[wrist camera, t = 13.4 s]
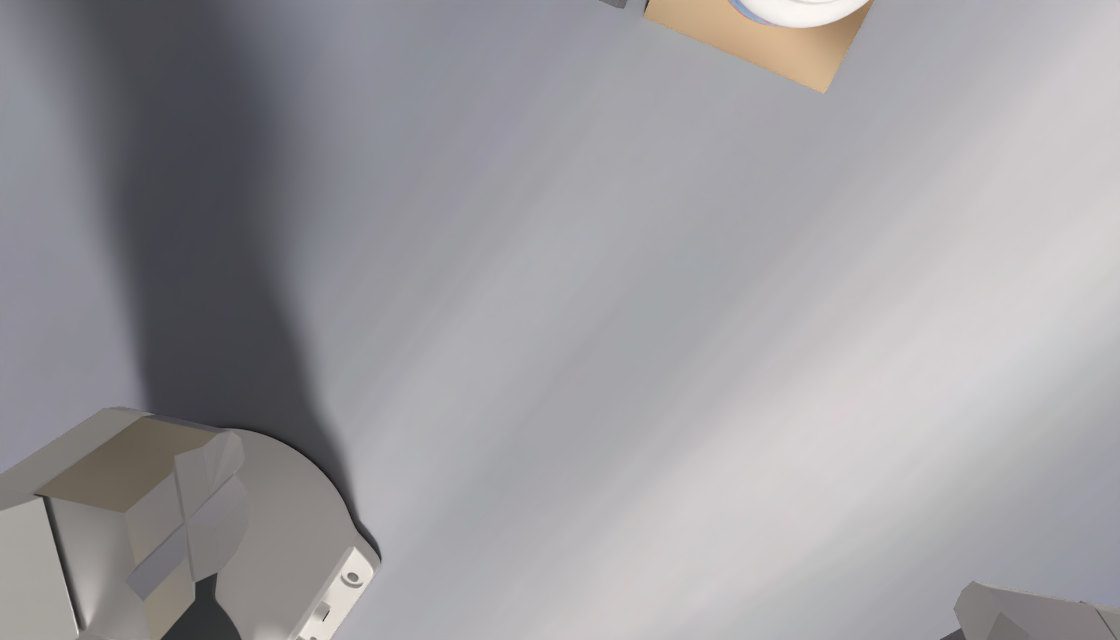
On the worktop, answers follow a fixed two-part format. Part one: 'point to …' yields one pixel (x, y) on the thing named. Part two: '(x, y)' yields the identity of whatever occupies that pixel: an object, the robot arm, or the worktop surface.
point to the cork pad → (764, 38)
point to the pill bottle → (796, 11)
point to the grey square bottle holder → (616, 3)
